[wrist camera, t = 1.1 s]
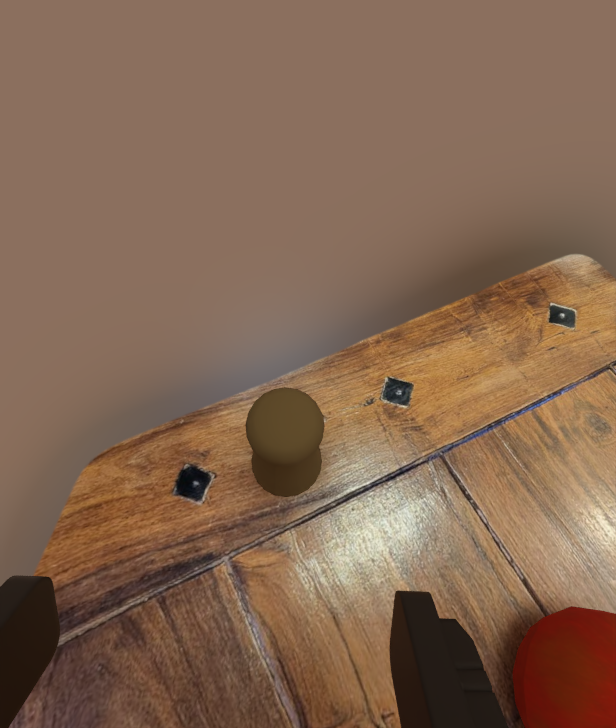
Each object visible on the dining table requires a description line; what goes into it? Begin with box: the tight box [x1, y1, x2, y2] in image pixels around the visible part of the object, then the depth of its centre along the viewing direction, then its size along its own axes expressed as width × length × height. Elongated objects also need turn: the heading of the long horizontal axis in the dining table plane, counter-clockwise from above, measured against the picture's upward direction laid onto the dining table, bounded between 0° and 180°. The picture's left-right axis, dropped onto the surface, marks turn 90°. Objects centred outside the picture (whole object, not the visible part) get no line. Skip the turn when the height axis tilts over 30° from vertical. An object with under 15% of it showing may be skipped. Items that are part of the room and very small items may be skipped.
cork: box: [246, 388, 324, 497], centre depth 31 cm, size 6×6×11 cm
